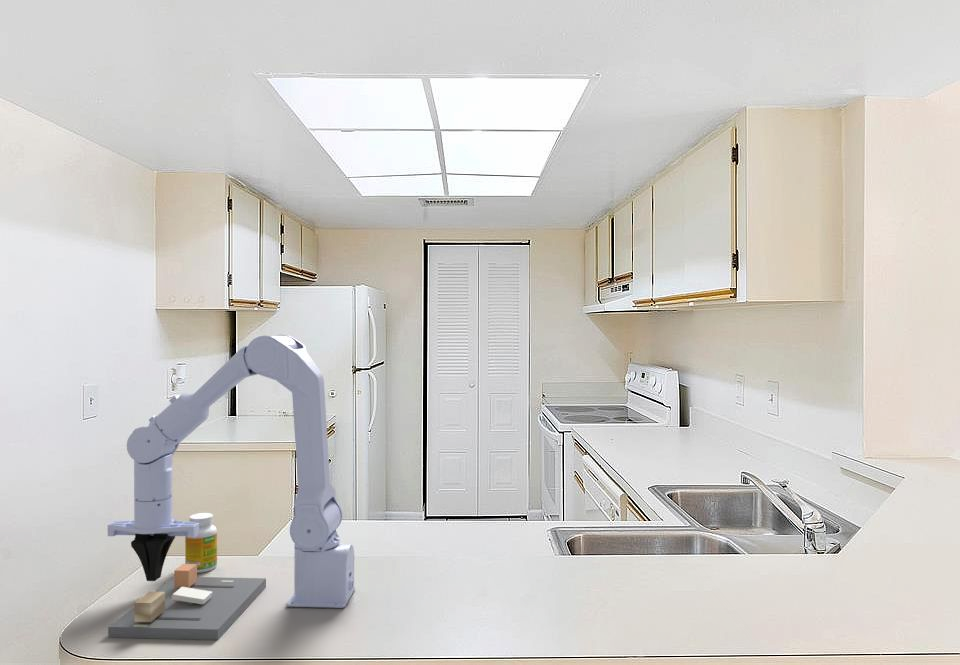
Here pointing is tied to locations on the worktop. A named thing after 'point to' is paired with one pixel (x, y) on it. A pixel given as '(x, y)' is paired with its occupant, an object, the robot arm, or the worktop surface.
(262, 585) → the switch panel
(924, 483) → the worktop surface
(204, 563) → the supplement bottle
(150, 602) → the tan cardboard carton
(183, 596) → the off-white rocker
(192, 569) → the peach slider
